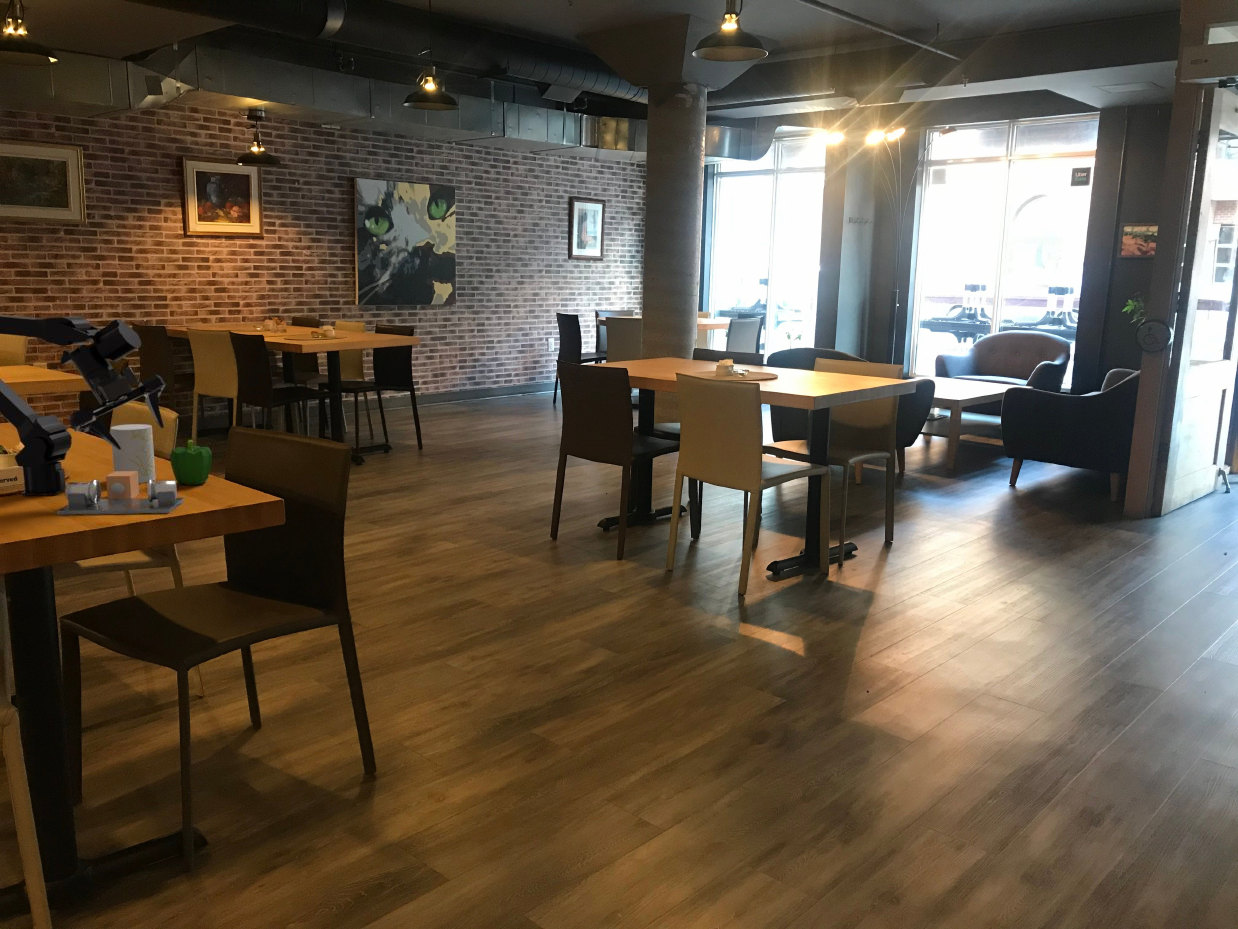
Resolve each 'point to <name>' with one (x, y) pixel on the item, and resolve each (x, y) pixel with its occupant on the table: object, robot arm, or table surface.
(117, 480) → the coupler
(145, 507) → the bench
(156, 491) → the shaft
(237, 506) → the table surface
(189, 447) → the bell pepper
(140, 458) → the cup
